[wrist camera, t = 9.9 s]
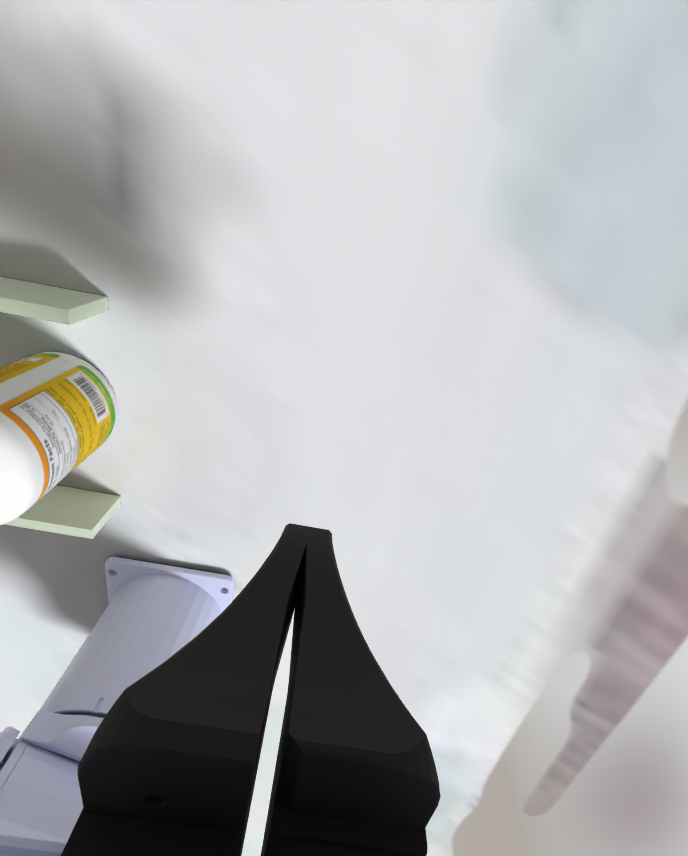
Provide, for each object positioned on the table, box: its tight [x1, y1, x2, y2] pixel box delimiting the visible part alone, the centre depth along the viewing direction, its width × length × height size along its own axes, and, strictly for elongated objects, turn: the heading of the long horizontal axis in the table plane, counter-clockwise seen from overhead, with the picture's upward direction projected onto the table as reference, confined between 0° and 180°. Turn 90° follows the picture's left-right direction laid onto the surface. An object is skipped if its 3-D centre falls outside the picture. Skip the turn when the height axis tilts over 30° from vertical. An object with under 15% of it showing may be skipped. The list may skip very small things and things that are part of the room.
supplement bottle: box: [0, 352, 118, 525], centre depth 18 cm, size 5×5×10 cm
